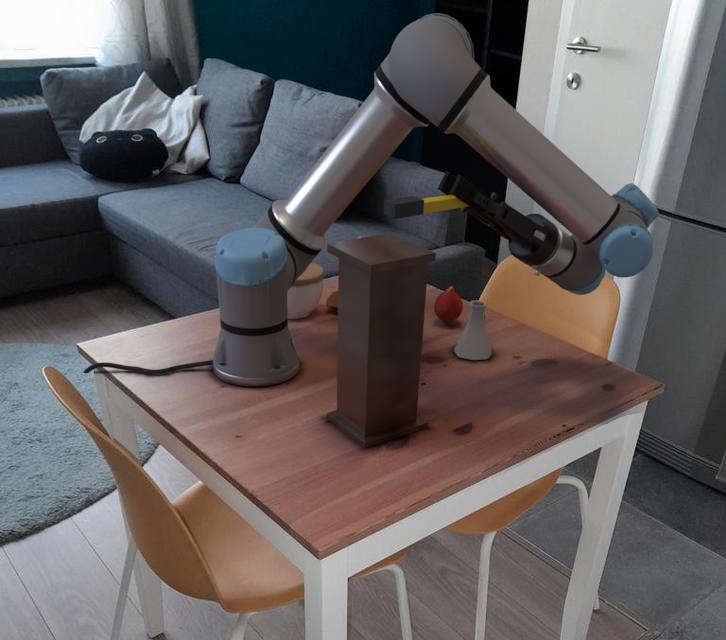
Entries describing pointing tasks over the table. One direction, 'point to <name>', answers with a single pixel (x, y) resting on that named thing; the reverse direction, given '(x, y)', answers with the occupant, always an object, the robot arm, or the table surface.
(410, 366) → the pedestal stand
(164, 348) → the table surface
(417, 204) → the highlighter
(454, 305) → the pomegranate
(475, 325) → the flask
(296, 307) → the lidded bowl
